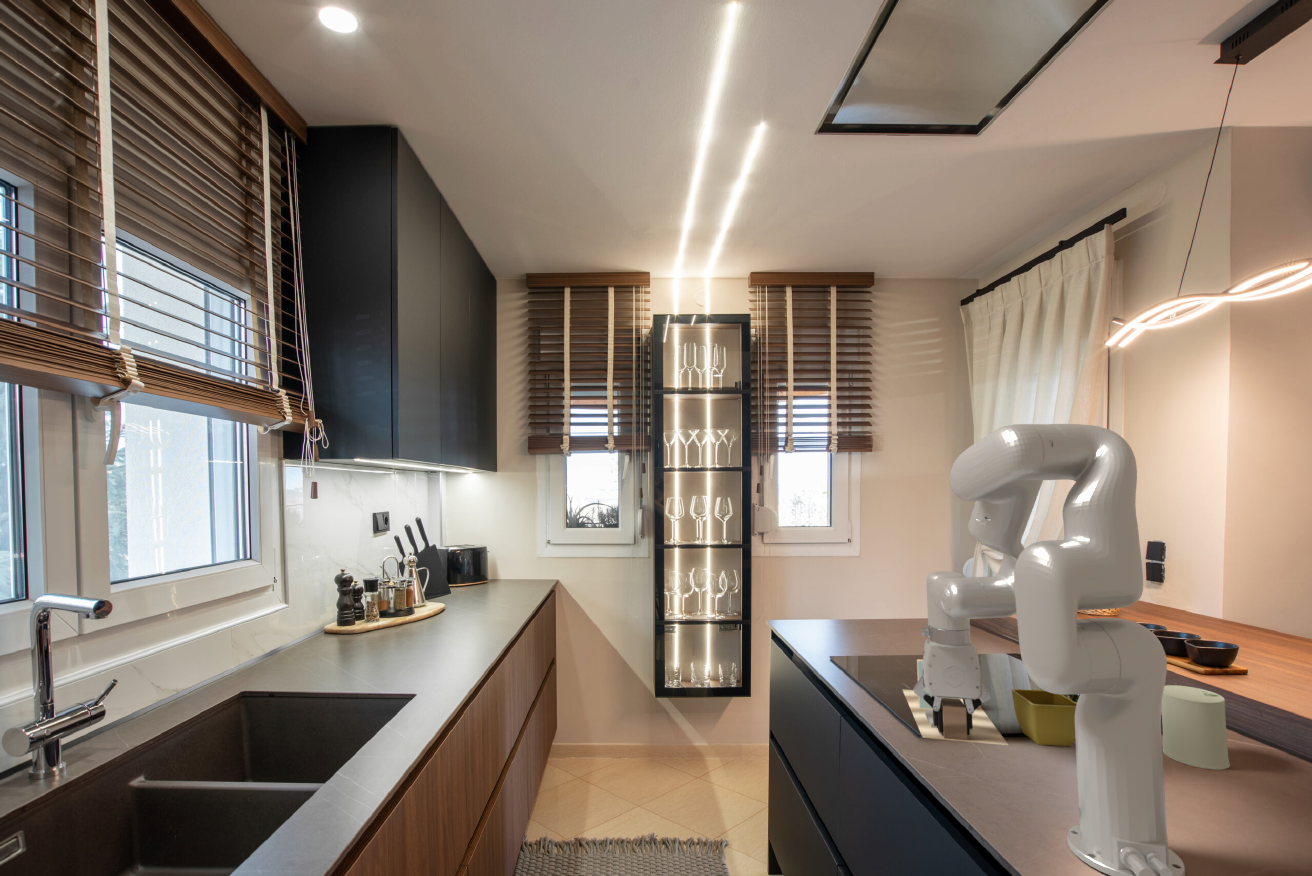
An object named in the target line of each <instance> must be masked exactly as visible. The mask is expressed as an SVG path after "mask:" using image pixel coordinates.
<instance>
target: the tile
mask: <svg viewBox="0 0 1312 876" xmlns="http://www.w3.org/2000/svg"><path fill="white" fill-rule="evenodd" d="M922 668H923V658H922V659H920V658H919V659H916V669H917V670H916V671H917V673H916V674H917V682H918V681H919V679H920V678H921V676H922ZM923 691H924V692H926V690H925V687H924V689H923ZM926 693H927V692H926ZM930 696H931V697H932V695H930ZM942 698H945V697H942ZM951 699H958V698H951ZM918 704H919V708H926V709H933V708H932V707H931V706H930V705H929V704H928V703H927V702H926V701H925V700H924V699H922V698H921V697H919V696H918Z"/></svg>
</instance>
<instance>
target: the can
mask: <svg viewBox="0 0 1312 876" xmlns="http://www.w3.org/2000/svg"><path fill="white" fill-rule="evenodd" d="M1161 727H1162V740H1163V741H1162V753H1163V754H1164V755H1165V756H1166V757H1168V758H1169V759H1172V760H1173V761H1176V762H1177V763H1181V764H1184V765H1186V766H1190V767H1194V768H1199V769H1205V770H1213V771H1215V770H1217V771H1218V770H1219V771H1220V770H1222V771H1223V770H1226V769H1227V770H1228V769H1229V768H1230V767H1231V764H1230V763H1231V762H1230V760H1229V759H1230V758H1229V752H1228V751H1229V750H1228V738H1227V736H1228V735H1227V721H1226V698H1224V697H1223V696H1222V694H1221V695H1220V694H1218V693H1216V692H1213V691H1211V690H1210V691H1209V690H1207V689H1203V688H1198V687H1193V686H1186V685H1174V684H1172V685H1171V684H1167V685H1164V690H1163V696H1162V704H1161Z"/></svg>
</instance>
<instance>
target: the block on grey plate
mask: <svg viewBox="0 0 1312 876" xmlns="http://www.w3.org/2000/svg"><path fill="white" fill-rule="evenodd" d="M940 707H941V711H942V713H943V732H942V734H943V736H944V738H945V739H957V740H967V721H966V707H965V706H964V704H963V703H962V701H961V700H960V699H951V698H941V704H940ZM925 715H926V717H927V719H928V722H929V724H930V726H931V728H937V726H934V724H933V711H925Z"/></svg>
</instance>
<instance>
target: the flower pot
mask: <svg viewBox="0 0 1312 876" xmlns="http://www.w3.org/2000/svg"><path fill="white" fill-rule="evenodd" d="M1011 695H1012V702H1013V707H1014V713H1015V716H1016V717H1015V718H1016V720H1017V722H1018V725H1019V727H1020V730H1021V731H1022V733H1023V734H1024V735H1025V736H1027V737H1028V738H1029V739H1030V740H1031V741H1033V742H1034V743H1035V744H1036V745H1039V746H1061V747H1072V746H1073V744H1074V743H1075V710H1076V705H1077V702H1075V701H1074V700H1072V699H1071V698H1069V697H1067V696H1066V695H1065V694H1054V693H1050V692H1047V691H1045V690H1043V689H1025V688H1023V689H1019V688H1018V689H1017V688H1015V689H1013V688H1012V689H1011Z"/></svg>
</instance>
